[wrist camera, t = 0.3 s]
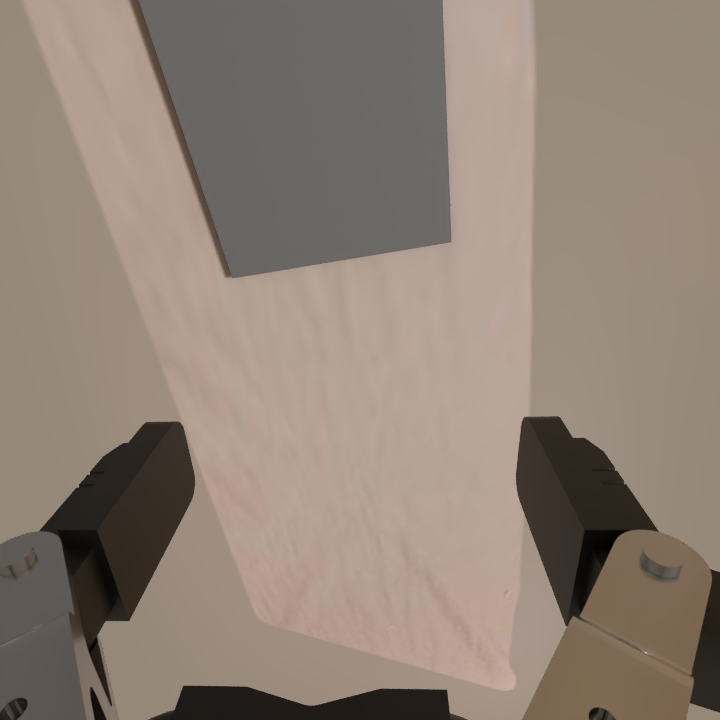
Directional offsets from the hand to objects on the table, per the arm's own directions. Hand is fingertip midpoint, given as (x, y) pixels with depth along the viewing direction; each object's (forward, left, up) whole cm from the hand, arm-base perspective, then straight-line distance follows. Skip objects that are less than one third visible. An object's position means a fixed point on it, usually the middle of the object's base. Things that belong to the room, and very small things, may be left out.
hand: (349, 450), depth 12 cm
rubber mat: (-1, +1, -29) cm, 29 cm away
